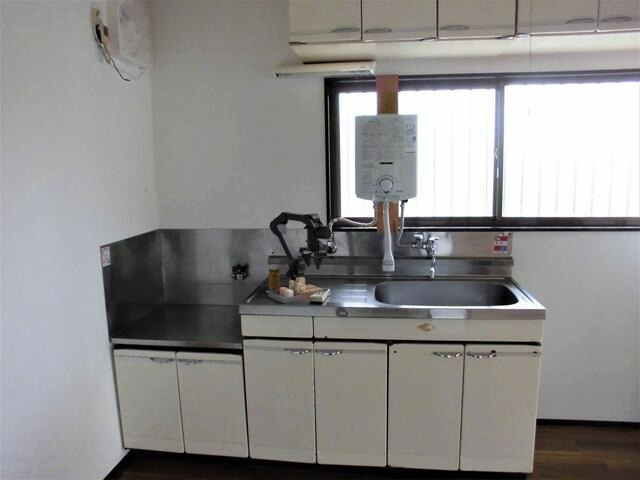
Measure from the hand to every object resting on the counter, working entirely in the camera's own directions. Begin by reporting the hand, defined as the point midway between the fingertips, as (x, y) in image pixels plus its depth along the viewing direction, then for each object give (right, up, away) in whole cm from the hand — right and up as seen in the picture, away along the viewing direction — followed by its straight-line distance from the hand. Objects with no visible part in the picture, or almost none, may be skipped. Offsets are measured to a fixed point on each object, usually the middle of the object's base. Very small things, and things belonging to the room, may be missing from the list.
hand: (313, 268), depth 234 cm
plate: (-4, -13, -6) cm, 15 cm away
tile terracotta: (-13, -11, -9) cm, 19 cm away
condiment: (-19, -13, +1) cm, 23 cm away
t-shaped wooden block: (-7, -10, -8) cm, 14 cm away
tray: (-14, -14, -12) cm, 23 cm away
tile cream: (-10, -12, -13) cm, 21 cm away
